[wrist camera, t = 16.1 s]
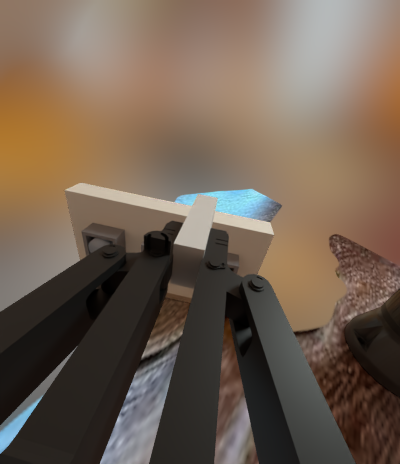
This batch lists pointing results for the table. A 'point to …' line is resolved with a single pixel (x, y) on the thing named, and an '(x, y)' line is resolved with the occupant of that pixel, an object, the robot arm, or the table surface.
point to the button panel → (158, 227)
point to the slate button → (98, 244)
